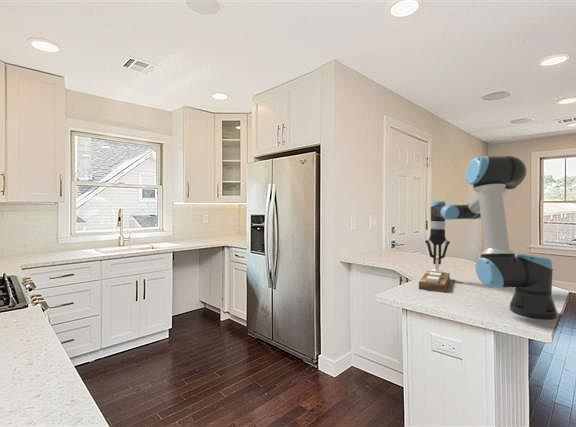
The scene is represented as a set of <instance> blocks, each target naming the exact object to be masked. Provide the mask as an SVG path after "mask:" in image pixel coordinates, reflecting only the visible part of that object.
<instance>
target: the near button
mask: <svg viewBox="0 0 576 427" xmlns="http://www.w3.org/2000/svg"><path fill="white" fill-rule="evenodd" d="M427 282H430V283H439V277H434V276H428V277H427Z"/></svg>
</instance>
